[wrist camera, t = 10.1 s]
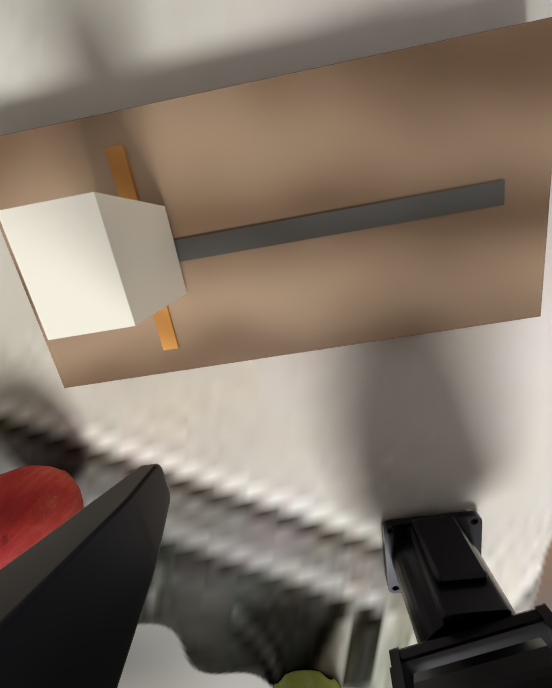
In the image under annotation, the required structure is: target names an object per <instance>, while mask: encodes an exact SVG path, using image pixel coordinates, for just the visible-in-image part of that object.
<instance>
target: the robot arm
mask: <svg viewBox="0 0 552 688" xmlns="http://www.w3.org/2000/svg"><path fill="white" fill-rule="evenodd" d="M169 504H170V491H169V488H168V485H167V482H166V479H165V476H164V473H163V470H162V468H161V466H160V465H159V464H151V465H143V466H141V467H139V468H138V469H136V470H135V471H134V472H132V473H131V474H130V475H128V476H127V477H125V478H124V479H123V480H121V481H120V482H119V483H117V484H116V485H115V486H113V487H112V488H111V489H109V490H108V491H106V492H105V493H104V494H102V495H101V496H100V497H98V498H97V499H96V500H94V501H93V502H91V503H90V504H89V505H87V506H86V507H85V508H83V509H82V510H81V511H79V512H78V513H76V514H75V515H74V516H72V517H71V518H70V519H68V520H67V521H66V522H64V523H63V524H62V525H60V526H59V527H57V528H56V529H55V530H53V531H52V532H51V533H49V534H48V535H47V536H45V537H44V538H42V539H41V540H40V541H38V542H37V543H36V544H34V545H33V546H32V547H30V548H29V549H27V550H26V551H25V552H23V553H22V554H21V555H19V556H18V557H17V558H15V559H14V560H13V561H11V562H10V563H8V564H7V565H6V566H4V567H3V568H2V569H0V688H117V687H118V683H119V680H120V677H121V674H122V671H123V668H124V665H125V662H126V659H127V655H128V652H129V649H130V646H131V643H132V640H133V637H134V634H135V630H136V627H137V624H138V621H139V618H140V615H141V612H142V609H143V606H144V603H145V599H146V596H147V593H148V590H149V587H150V584H151V581H152V577H153V574H154V571H155V567H156V563H157V559H158V554H159V550H160V545H161V541H162V536H163V531H164V527H165V522H166V517H167V513H168V508H169ZM472 519H473V520H472ZM389 528H390V529H389ZM382 533H383V544H384V555H385V566H386V577H387V585H388V588H389V591H390V592H391V593H402V595H403V599H404V602H405V605H406V608H407V611H408V614H409V617H410V620H411V623H412V627H413V630H414V633H415V636H416V639H417V642H418V644H415V645H411V646H408V647H405V648H402V649H399V648H398V647H397V648H394V649H391V650H389V654H390V660H391V666H392V667H391V668H390V674H391V680H392V686H393V688H552V612H551V611H550V609H549V608H548V607H547V606H546V604H545V603H543V604H539V605H536V606H534V609H531V610H527V611H524V612H521V613H517V614H516V613H515V611H514V609H513V608H512V606H511V604H510V603H509V601H508V599H507V598H506V596H505V594H504V593H503V591H502V589H501V588H500V586H499V585H498V583H497V581H496V580H495V578H494V576H493V575H492V573H491V571H490V570H489V568H488V566H487V565H486V563H485V561H484V560H483V558H482V556H481V542H482V519H481V517H480V516H479V514H478V513H477V512H474V511H469V512H460V513H451V514H442V515H433V516H424V517H415V518H406V519H396V520H388V521H385V522H384V523H383V524H382Z"/></svg>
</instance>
